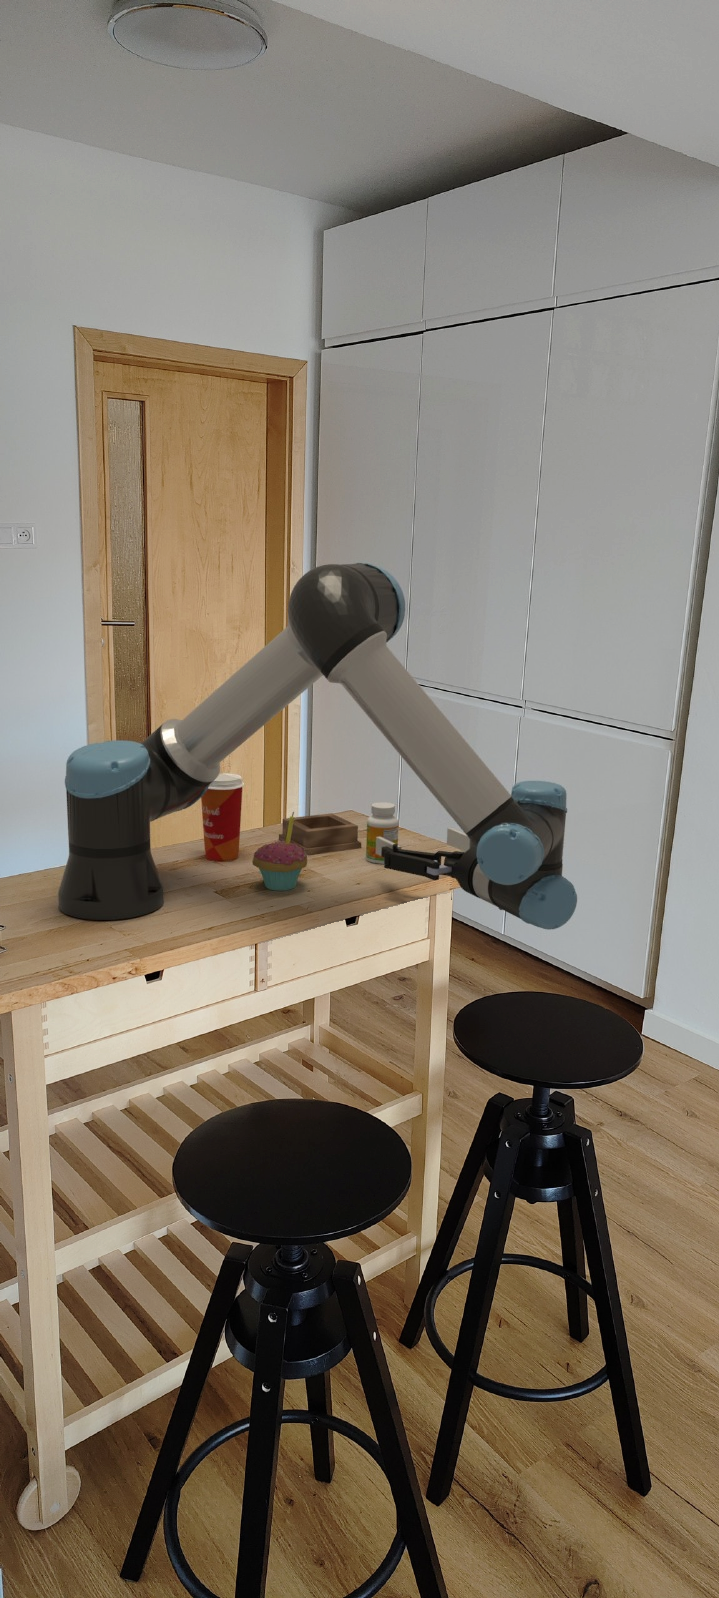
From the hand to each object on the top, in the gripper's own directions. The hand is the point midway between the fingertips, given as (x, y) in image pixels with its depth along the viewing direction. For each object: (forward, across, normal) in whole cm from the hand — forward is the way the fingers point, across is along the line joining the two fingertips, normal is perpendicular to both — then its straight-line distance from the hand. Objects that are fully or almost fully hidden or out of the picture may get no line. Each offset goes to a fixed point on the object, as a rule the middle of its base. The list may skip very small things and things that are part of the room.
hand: (413, 840), depth 175 cm
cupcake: (+4, -22, -6) cm, 23 cm away
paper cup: (+23, -24, -6) cm, 34 cm away
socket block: (+23, -5, -6) cm, 25 cm away
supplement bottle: (+10, 0, -6) cm, 12 cm away
